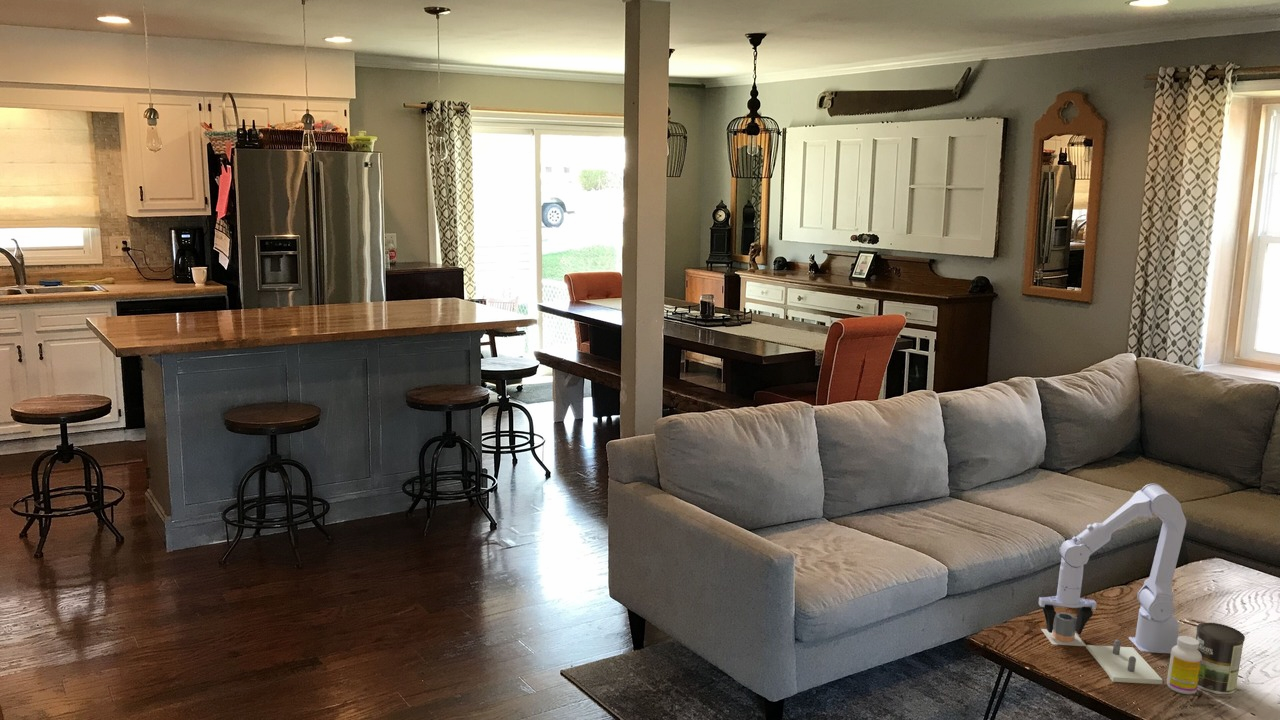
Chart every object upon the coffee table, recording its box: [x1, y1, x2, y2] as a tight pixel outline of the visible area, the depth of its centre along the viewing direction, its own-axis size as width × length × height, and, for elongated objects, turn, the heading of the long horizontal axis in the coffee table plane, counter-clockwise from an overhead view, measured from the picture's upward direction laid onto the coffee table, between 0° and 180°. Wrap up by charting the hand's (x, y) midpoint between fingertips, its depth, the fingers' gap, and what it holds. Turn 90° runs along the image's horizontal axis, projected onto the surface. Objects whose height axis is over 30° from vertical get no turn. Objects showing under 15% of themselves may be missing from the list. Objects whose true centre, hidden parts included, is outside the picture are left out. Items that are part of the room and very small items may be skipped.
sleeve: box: [1053, 611, 1077, 642], centre depth 268 cm, size 5×5×6 cm
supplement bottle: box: [1166, 635, 1202, 695], centre depth 243 cm, size 7×7×13 cm
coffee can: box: [1195, 622, 1246, 696], centre depth 246 cm, size 10×10×14 cm
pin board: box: [1085, 639, 1163, 685], centre depth 254 cm, size 12×17×5 cm
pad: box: [1040, 628, 1087, 647], centre depth 269 cm, size 9×9×1 cm
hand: (1063, 631), depth 269 cm, fingers open, 7 cm apart
